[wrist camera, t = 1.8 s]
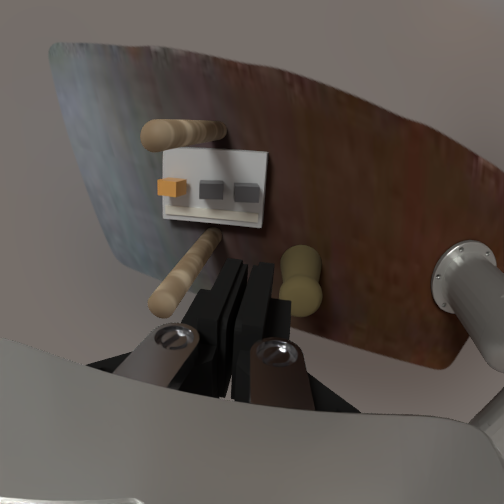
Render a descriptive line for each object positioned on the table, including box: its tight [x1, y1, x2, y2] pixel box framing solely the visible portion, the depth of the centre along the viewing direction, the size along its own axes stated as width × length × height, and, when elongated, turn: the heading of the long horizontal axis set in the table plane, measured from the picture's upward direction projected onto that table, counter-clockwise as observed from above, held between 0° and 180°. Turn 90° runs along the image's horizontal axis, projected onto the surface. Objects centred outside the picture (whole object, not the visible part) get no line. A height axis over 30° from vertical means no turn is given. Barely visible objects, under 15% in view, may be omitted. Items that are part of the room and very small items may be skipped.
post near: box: [140, 119, 227, 152], centre depth 32 cm, size 3×3×20 cm
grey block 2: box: [233, 182, 260, 203], centre depth 40 cm, size 3×2×2 cm, turn 87°
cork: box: [279, 245, 323, 317], centre depth 42 cm, size 6×6×11 cm
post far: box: [148, 227, 222, 318], centre depth 38 cm, size 3×3×20 cm
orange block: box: [158, 177, 187, 197], centre depth 41 cm, size 3×2×2 cm, turn 85°
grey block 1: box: [199, 180, 224, 200], centre depth 41 cm, size 3×2×2 cm, turn 87°
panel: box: [163, 147, 268, 228], centre depth 43 cm, size 14×10×2 cm
